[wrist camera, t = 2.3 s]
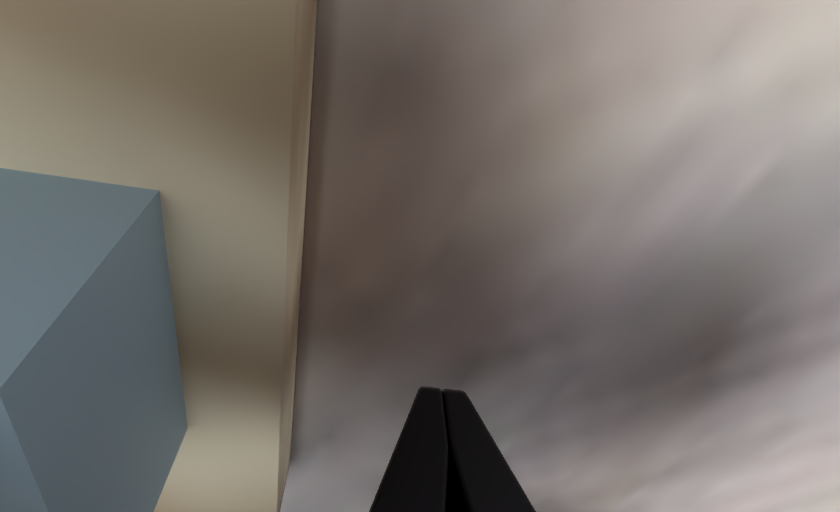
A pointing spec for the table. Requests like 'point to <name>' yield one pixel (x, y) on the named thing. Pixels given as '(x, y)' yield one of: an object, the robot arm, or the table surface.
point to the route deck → (189, 194)
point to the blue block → (85, 347)
